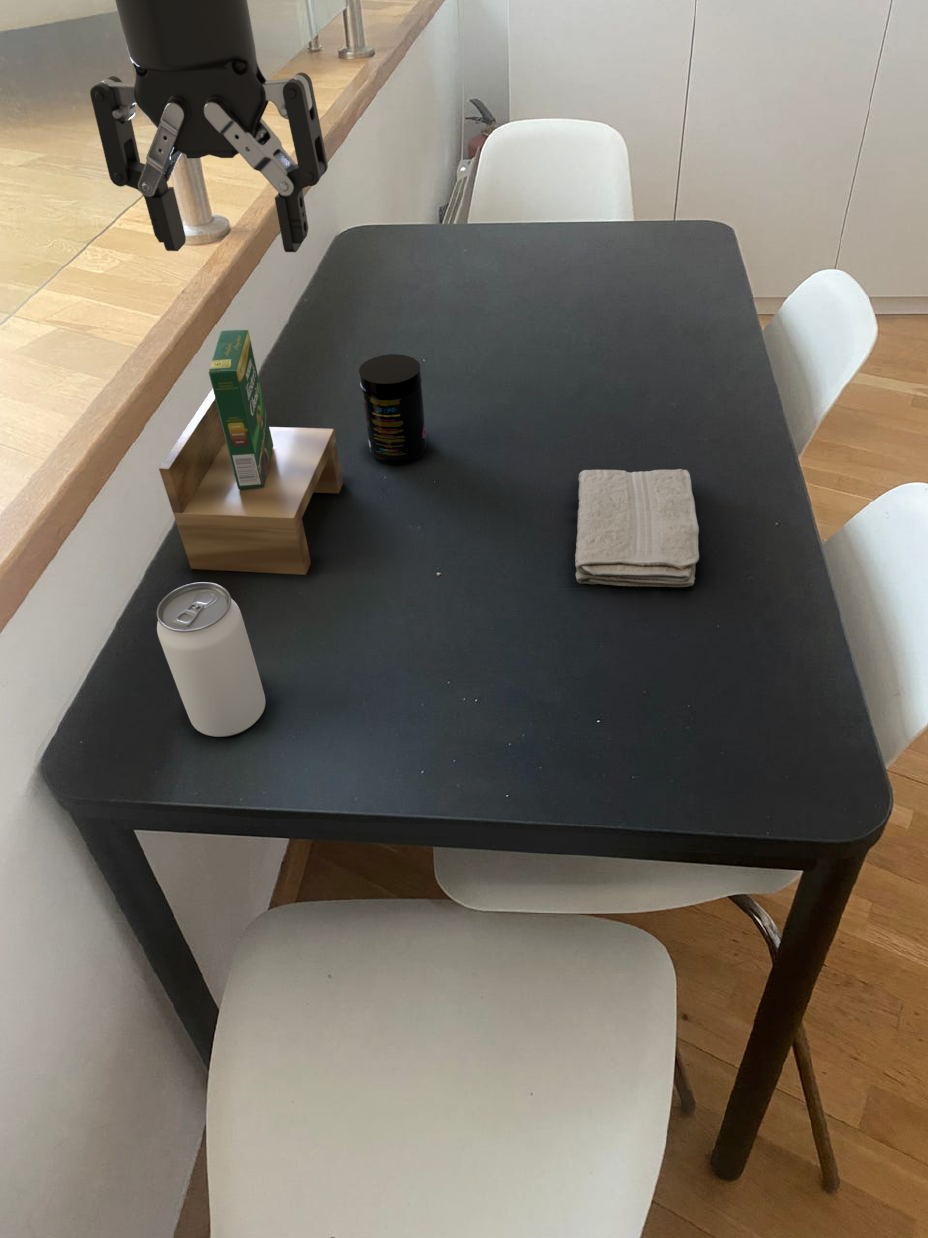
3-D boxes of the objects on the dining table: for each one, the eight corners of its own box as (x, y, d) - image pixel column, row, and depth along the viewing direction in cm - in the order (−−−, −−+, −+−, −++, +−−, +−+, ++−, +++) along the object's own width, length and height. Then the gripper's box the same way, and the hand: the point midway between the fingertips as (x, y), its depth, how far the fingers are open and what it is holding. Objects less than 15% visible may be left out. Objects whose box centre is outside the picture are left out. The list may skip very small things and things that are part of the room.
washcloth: (574, 590, 87) (575, 565, 85) (575, 482, 100) (576, 458, 98) (701, 593, 86) (705, 568, 84) (686, 484, 99) (689, 460, 97)
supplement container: (431, 462, 105) (424, 379, 98) (372, 470, 104) (361, 387, 97) (423, 432, 110) (416, 350, 103) (367, 439, 109) (356, 358, 102)
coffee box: (266, 490, 90) (237, 367, 81) (236, 492, 90) (204, 369, 81) (275, 446, 96) (250, 326, 87) (248, 448, 96) (219, 328, 87)
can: (281, 695, 79) (253, 590, 71) (237, 749, 75) (202, 644, 67) (220, 674, 81) (185, 570, 73) (174, 726, 77) (132, 621, 69)
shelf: (306, 575, 91) (284, 473, 83) (190, 569, 93) (158, 468, 84) (343, 483, 103) (327, 385, 94) (240, 479, 104) (216, 383, 96)
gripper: (29, -20, 51) (117, 268, 62) (274, -29, 49) (320, 270, 60) (87, -41, 57) (158, 228, 68) (310, -50, 55) (346, 228, 66)
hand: (235, 247), depth 64 cm, fingers open, 8 cm apart
